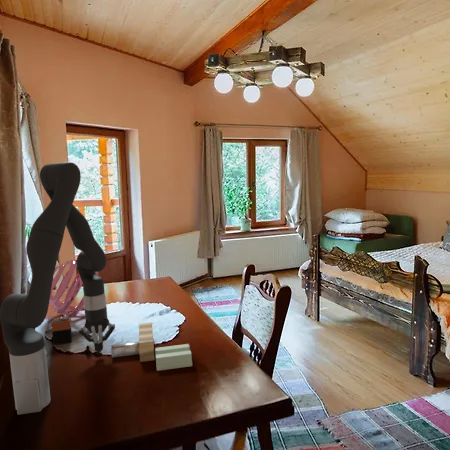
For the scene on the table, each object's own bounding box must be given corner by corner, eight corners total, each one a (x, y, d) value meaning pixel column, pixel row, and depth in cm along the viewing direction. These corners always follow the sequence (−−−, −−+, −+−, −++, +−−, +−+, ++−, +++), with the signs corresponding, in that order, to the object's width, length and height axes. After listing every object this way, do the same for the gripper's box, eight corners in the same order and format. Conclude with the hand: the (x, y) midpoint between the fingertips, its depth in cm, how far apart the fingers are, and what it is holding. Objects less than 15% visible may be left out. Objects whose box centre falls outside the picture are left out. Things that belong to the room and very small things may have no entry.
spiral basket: (115, 263, 204) (66, 240, 191) (122, 290, 180) (67, 265, 166) (86, 306, 207) (35, 286, 193) (89, 338, 182) (32, 317, 169)
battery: (71, 342, 156) (69, 318, 155) (53, 345, 154) (50, 321, 153) (72, 338, 161) (70, 314, 159) (54, 340, 159) (52, 317, 157)
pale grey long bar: (150, 345, 149) (150, 337, 146) (151, 355, 145) (150, 347, 143) (112, 350, 146) (111, 342, 144) (112, 360, 142) (111, 352, 140)
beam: (154, 359, 139) (153, 341, 138) (140, 361, 138) (138, 343, 137) (153, 339, 157) (152, 322, 156) (140, 340, 156) (139, 323, 155)
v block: (192, 366, 134) (191, 354, 133) (156, 370, 132) (156, 359, 131) (188, 352, 144) (188, 342, 143) (155, 357, 141) (155, 346, 141)
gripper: (74, 311, 136) (78, 358, 138) (113, 307, 138) (117, 353, 141) (77, 304, 143) (81, 349, 145) (115, 300, 146) (118, 344, 148)
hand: (99, 351), depth 143 cm, fingers closed
